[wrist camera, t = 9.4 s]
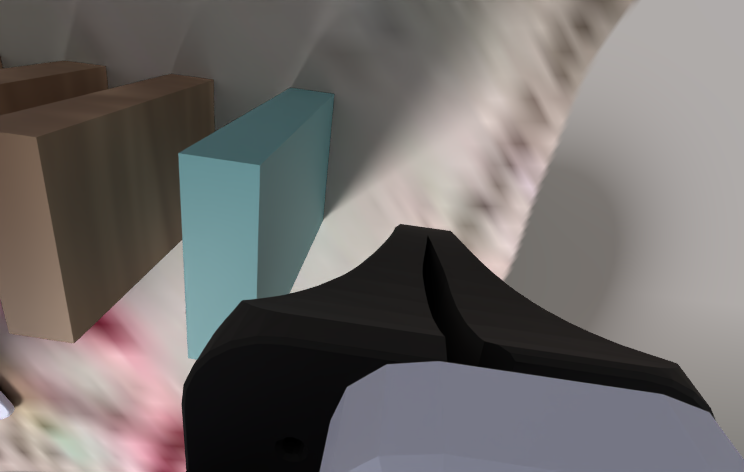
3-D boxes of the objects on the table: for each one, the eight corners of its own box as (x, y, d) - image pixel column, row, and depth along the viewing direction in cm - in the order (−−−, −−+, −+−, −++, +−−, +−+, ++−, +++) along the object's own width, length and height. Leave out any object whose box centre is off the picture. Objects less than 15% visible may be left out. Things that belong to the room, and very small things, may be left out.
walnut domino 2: (213, 79, 18) (36, 137, 9) (216, 206, 20) (74, 343, 11) (170, 73, 18) (-44, 126, 9) (178, 201, 20) (8, 333, 12)
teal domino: (334, 93, 17) (260, 165, 9) (323, 220, 19) (254, 368, 11) (290, 87, 17) (178, 153, 9) (283, 214, 20) (187, 358, 11)
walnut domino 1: (105, 65, 18) (-163, 111, 9) (120, 193, 20) (-88, 320, 12) (63, 60, 18) (-239, 100, 10) (82, 188, 20) (-151, 310, 12)
